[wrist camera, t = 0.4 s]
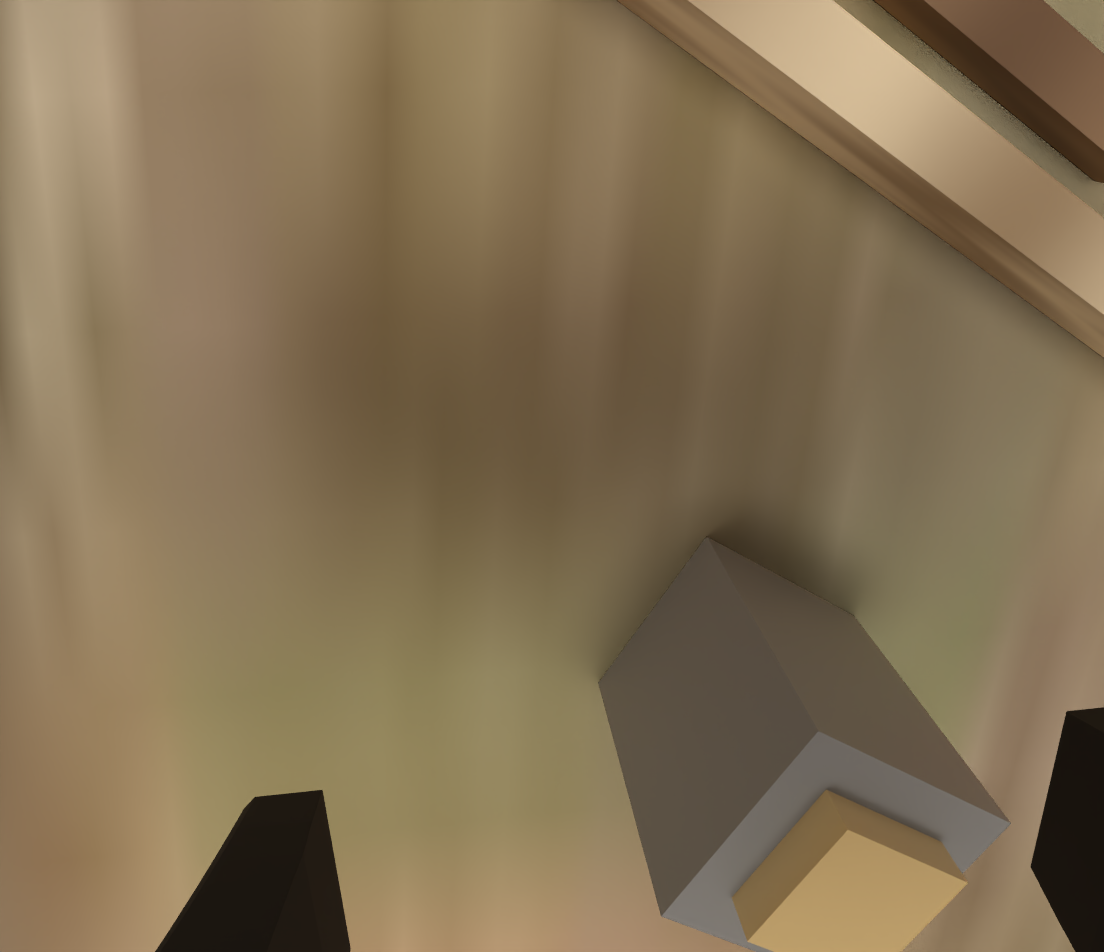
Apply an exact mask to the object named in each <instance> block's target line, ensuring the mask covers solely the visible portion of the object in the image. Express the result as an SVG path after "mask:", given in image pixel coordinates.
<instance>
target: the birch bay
mask: <svg viewBox="0 0 1104 952" xmlns="http://www.w3.org/2000/svg"><path fill="white" fill-rule="evenodd" d="M617 1H618V2H620V3H621V4H623V5H624V6H625V7H627V8H628V9H629V10H631V11H632V12H633V13H635V14H636V15H638V16H639V17H640V18H642V19H643V20H644V21H646V22H647V23H648V24H650V25H651V26H653V27H654V28H655V29H657V30H658V31H659V32H661V33H662V34H663V35H665V36H666V37H668V38H669V39H670V40H672V41H673V42H674V43H676V44H677V45H678V46H680V47H681V48H683V49H684V50H685V51H687V52H688V53H689V54H691V55H692V56H693V57H695V58H696V59H697V60H699V61H700V62H702V63H703V64H704V65H706V66H707V67H708V68H710V69H711V70H712V71H714V72H715V73H717V74H718V75H719V76H721V77H722V78H723V79H725V80H726V81H727V82H729V83H730V84H732V85H733V86H734V87H736V88H737V89H738V90H740V91H741V92H742V93H744V94H745V95H747V96H748V97H749V98H751V99H752V100H753V101H755V102H756V103H757V104H759V105H760V106H762V107H763V108H764V109H766V110H767V111H768V112H770V113H771V114H772V115H774V116H775V117H777V118H778V119H779V120H781V121H782V122H783V123H785V124H786V125H787V126H789V127H790V128H791V129H793V130H794V131H796V132H797V133H798V134H800V135H801V136H802V137H804V138H805V139H806V140H808V141H809V142H811V143H812V144H813V145H815V146H816V147H817V148H819V149H820V150H821V151H823V152H824V153H826V154H827V155H828V156H830V157H831V158H832V159H834V160H835V161H836V162H838V163H839V164H841V165H842V166H843V167H845V168H846V169H847V170H849V171H850V172H851V173H853V174H854V175H856V176H857V177H858V178H860V179H861V180H862V181H864V182H865V183H866V184H868V185H869V186H871V187H872V188H873V189H875V190H876V191H877V192H879V193H880V194H881V195H883V196H884V197H886V198H887V199H888V200H890V201H891V202H892V203H894V204H895V205H896V206H898V207H899V208H900V209H902V210H903V211H905V212H906V213H907V214H909V215H910V216H911V217H913V218H914V219H915V220H917V221H918V222H920V223H921V224H922V225H924V226H925V227H926V228H928V229H929V230H930V231H932V232H933V233H935V234H936V235H937V236H939V237H940V238H941V239H943V240H944V241H945V242H947V243H948V244H950V245H951V246H952V247H954V248H955V249H956V250H958V251H959V252H960V253H962V254H963V255H965V256H966V257H967V258H969V259H970V260H971V261H973V262H974V263H975V264H977V265H978V266H980V267H981V268H982V269H984V270H985V271H986V272H988V273H989V274H990V275H992V276H993V277H994V278H996V279H997V280H999V281H1000V282H1001V283H1003V284H1004V285H1005V286H1007V287H1008V288H1009V289H1011V290H1012V291H1014V292H1015V293H1016V294H1018V295H1019V296H1020V297H1022V298H1023V299H1024V300H1026V301H1027V302H1029V303H1030V304H1031V305H1033V306H1034V307H1035V308H1037V309H1038V310H1039V311H1041V312H1042V313H1044V314H1045V315H1046V316H1048V317H1049V318H1050V319H1052V320H1053V321H1054V322H1056V323H1057V324H1059V325H1060V326H1061V327H1063V328H1064V329H1065V330H1067V331H1068V332H1069V333H1071V334H1072V335H1074V336H1075V337H1076V338H1078V339H1079V340H1080V341H1082V342H1083V343H1084V344H1086V345H1087V346H1089V347H1090V348H1091V349H1093V350H1094V351H1095V352H1097V353H1098V354H1099V355H1101V356H1102V357H1103V358H1104V218H1103V217H1102V216H1101V215H1099V214H1098V213H1097V212H1096V211H1094V210H1093V209H1092V208H1091V207H1089V206H1088V205H1087V204H1086V203H1084V202H1083V201H1082V200H1081V199H1080V198H1078V197H1077V196H1076V195H1075V194H1073V193H1072V192H1071V191H1070V190H1068V189H1067V188H1066V187H1065V186H1063V185H1062V184H1061V183H1060V182H1058V181H1057V180H1056V179H1055V178H1053V177H1052V176H1051V175H1050V174H1048V173H1047V172H1046V171H1045V170H1043V169H1042V168H1041V167H1040V166H1038V165H1037V164H1036V163H1035V162H1033V161H1032V160H1031V159H1030V158H1029V157H1027V156H1026V155H1025V154H1024V153H1022V152H1021V151H1020V150H1019V149H1017V148H1016V147H1015V146H1014V145H1012V144H1011V143H1010V142H1009V141H1007V140H1006V139H1005V138H1004V137H1002V136H1001V135H1000V134H999V133H997V132H996V131H995V130H994V129H992V128H991V127H990V126H989V125H987V124H986V123H985V122H984V121H982V120H981V119H980V118H979V117H977V116H976V115H975V114H974V113H973V112H971V111H970V110H969V109H968V108H966V107H965V106H964V105H963V104H961V103H960V102H959V101H958V100H956V99H955V98H954V97H953V96H951V95H950V94H949V93H948V92H946V91H945V90H944V89H943V88H941V87H940V86H939V85H938V84H936V83H935V82H934V81H933V80H931V79H930V78H929V77H928V76H926V75H925V74H924V73H923V72H922V71H920V70H919V69H918V68H917V67H915V66H914V65H913V64H912V63H910V62H909V61H908V60H907V59H905V58H904V57H903V56H902V55H900V54H899V53H898V52H897V51H895V50H894V49H893V48H892V47H890V46H889V45H888V44H887V43H885V42H884V41H883V40H882V39H880V38H879V37H878V36H877V35H875V34H874V33H873V32H872V31H871V30H869V29H868V28H867V27H866V26H864V25H863V24H862V23H861V22H859V21H858V20H857V19H856V18H854V17H853V16H852V15H851V14H849V13H848V12H847V11H846V10H844V9H843V8H842V7H841V6H839V5H838V4H837V3H836V2H834V1H833V0H617ZM874 1H875V2H877V3H878V4H879V5H880V6H882V7H883V8H884V9H885V10H886V11H888V12H889V13H890V14H891V15H893V16H894V17H895V18H896V19H897V20H899V21H900V22H901V23H902V24H904V25H905V26H906V27H907V28H908V29H910V30H911V31H912V32H913V33H914V34H916V35H917V36H918V37H919V38H921V39H922V40H923V41H924V42H925V43H927V44H928V45H929V46H930V47H932V48H933V49H934V50H935V51H936V52H938V53H939V54H940V55H941V56H943V57H944V58H945V59H946V60H947V61H949V62H950V63H951V64H952V65H954V66H955V67H956V68H957V69H958V70H960V71H961V72H962V73H963V74H965V75H966V76H967V77H968V78H969V79H971V80H972V81H973V82H974V83H976V84H977V85H978V86H979V87H980V88H982V89H983V90H984V91H985V92H987V93H988V94H989V95H990V96H991V97H993V98H994V99H995V100H996V101H998V102H999V103H1000V104H1001V105H1002V106H1004V107H1005V108H1006V109H1007V110H1009V111H1010V112H1011V113H1012V114H1013V115H1015V116H1016V117H1017V118H1018V119H1020V120H1021V121H1022V122H1023V123H1024V124H1026V125H1027V126H1028V127H1029V128H1031V129H1032V130H1033V131H1034V132H1035V133H1037V134H1038V135H1039V136H1040V137H1042V138H1043V139H1044V140H1045V141H1046V142H1048V143H1049V144H1050V145H1051V146H1053V147H1054V148H1055V149H1056V150H1057V151H1059V152H1060V153H1061V154H1062V155H1064V156H1065V157H1066V158H1067V159H1068V160H1070V161H1071V162H1072V163H1073V164H1075V165H1076V166H1077V167H1078V168H1079V169H1081V170H1082V171H1083V172H1084V173H1086V174H1087V175H1088V176H1089V177H1090V178H1092V179H1093V180H1094V181H1097V182H1102V183H1104V54H1103V53H1102V52H1101V51H1100V50H1099V49H1098V48H1096V47H1095V46H1094V45H1093V44H1092V43H1091V42H1090V41H1089V40H1087V39H1086V38H1085V37H1084V36H1083V35H1082V34H1081V33H1080V32H1078V31H1077V30H1076V29H1075V28H1074V27H1073V26H1072V25H1070V24H1069V23H1068V22H1067V21H1066V20H1065V19H1064V18H1063V17H1061V16H1060V15H1059V14H1058V13H1057V12H1056V11H1055V10H1054V9H1052V8H1051V7H1050V6H1049V5H1048V4H1047V3H1046V2H1045V1H1043V0H874Z"/></svg>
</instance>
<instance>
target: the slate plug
mask: <svg viewBox="0 0 1104 952" xmlns="http://www.w3.org/2000/svg"><path fill="white" fill-rule="evenodd" d="M598 684H599V687H600V691H601V695H602V698H603V702H604V706H605V710H606V713H607V717H608V721H609V724H610V728H611V732H612V735H613V739H614V743H615V747H616V750H617V754H618V758H619V761H620V765H621V769H622V773H623V776H624V780H625V784H626V787H627V791H628V795H629V799H630V802H631V806H632V810H633V813H634V817H635V821H636V825H637V828H638V832H639V836H640V839H641V843H642V847H643V851H644V854H645V858H646V862H647V865H648V869H649V873H650V876H651V880H652V884H653V888H654V891H655V895H656V899H657V902H658V906H659V910H660V914H661V916H662V917H664V918H667V919H670V920H672V921H675V922H678V923H680V924H683V925H686V926H689V927H691V928H694V929H697V930H699V931H702V932H705V933H707V934H710V935H713V936H715V937H718V938H721V939H723V940H726V941H729V942H732V943H734V944H737V945H740V946H742V947H745V948H748V949H750V950H753V951H756V952H901V951H902V950H903V949H904V948H905V947H906V946H907V945H908V944H909V943H910V942H911V941H912V940H913V939H914V938H915V937H916V936H917V935H918V934H919V933H920V932H921V931H922V930H923V929H924V928H925V927H926V925H927V924H928V923H929V922H930V921H931V920H932V919H933V918H934V917H935V916H936V915H937V914H938V913H939V912H940V911H941V910H942V909H943V908H944V907H945V906H946V905H947V904H948V903H949V902H950V901H951V900H952V899H953V898H954V897H955V896H956V895H957V894H958V893H959V892H960V891H961V890H962V889H963V888H964V887H965V886H966V884H967V883H968V882H967V880H966V879H965V877H964V876H963V873H964V872H965V870H966V869H967V868H968V867H969V866H970V865H971V864H972V863H973V862H974V861H975V860H976V859H977V858H978V857H979V856H980V855H981V854H982V853H983V852H984V851H985V850H986V849H987V848H988V847H989V846H990V845H991V844H992V843H993V842H994V841H995V840H996V839H997V837H998V836H999V835H1000V834H1001V833H1002V832H1003V831H1004V830H1005V829H1006V828H1007V827H1008V826H1009V825H1010V824H1011V822H1010V821H1009V820H1008V818H1007V817H1006V816H1005V815H1004V813H1003V812H1002V811H1001V809H1000V808H999V807H998V805H997V804H996V803H995V801H994V800H993V799H992V797H991V796H990V795H989V793H988V792H987V791H986V789H985V788H984V787H983V785H982V784H981V783H980V781H979V780H978V779H977V778H976V776H975V775H974V774H973V772H972V771H971V770H970V768H969V767H968V766H967V764H966V763H965V762H964V760H963V759H962V758H961V756H960V755H959V754H958V752H957V751H956V750H955V748H954V747H953V746H952V744H951V743H950V742H949V741H948V739H947V738H946V737H945V735H944V734H943V733H942V731H941V730H940V729H939V727H938V726H937V725H936V723H935V722H934V721H933V719H932V718H931V717H930V715H929V714H928V713H927V711H926V710H925V709H924V707H923V706H922V705H921V704H920V702H919V701H918V700H917V698H916V697H915V696H914V694H913V693H912V692H911V690H910V689H909V688H908V686H907V685H906V684H905V682H904V681H903V680H902V678H901V677H900V676H899V674H898V673H897V672H896V670H895V669H894V668H893V666H892V665H891V664H890V663H889V661H888V660H887V659H886V657H885V656H884V655H883V653H882V652H881V651H880V649H879V648H878V647H877V645H876V644H875V643H874V641H873V640H872V639H871V637H870V636H869V635H868V633H867V632H866V631H865V629H864V628H863V627H862V626H861V624H860V623H859V622H858V620H857V619H856V618H855V616H854V615H852V614H850V613H848V612H846V611H844V610H842V609H841V608H839V607H837V606H835V605H833V604H831V603H829V602H828V601H826V600H824V599H822V598H820V597H818V596H816V595H815V594H813V593H811V592H809V591H807V590H805V589H803V588H802V587H800V586H798V585H796V584H794V583H792V582H790V581H788V580H787V579H785V578H783V577H781V576H779V575H777V574H775V573H774V572H772V571H770V570H768V569H766V568H764V567H762V566H761V565H759V564H757V563H755V562H753V561H751V560H749V559H748V558H746V557H744V556H742V555H740V554H738V553H736V552H735V551H733V550H731V549H729V548H727V547H725V546H723V545H722V544H720V543H718V542H716V541H714V540H712V539H710V538H709V537H707V536H706V538H705V539H704V540H703V542H702V543H701V544H700V546H699V547H698V549H697V550H696V551H695V553H694V554H693V555H692V557H691V558H690V559H689V561H688V562H687V563H686V565H685V566H684V567H683V569H682V570H681V572H680V573H679V574H678V576H677V577H676V578H675V580H674V581H673V582H672V584H671V585H670V586H669V588H668V589H667V590H666V592H665V593H664V594H663V596H662V597H661V599H660V600H659V601H658V603H657V604H656V605H655V607H654V608H653V609H652V611H651V612H650V613H649V615H648V616H647V617H646V619H645V620H644V622H643V623H642V624H641V626H640V627H639V628H638V630H637V631H636V632H635V634H634V635H633V636H632V638H631V639H630V640H629V642H628V643H627V644H626V646H625V647H624V649H623V650H622V651H621V653H620V654H619V655H618V657H617V658H616V659H615V661H614V662H613V663H612V665H611V666H610V667H609V669H608V670H607V672H606V673H605V674H604V676H603V677H602V678H601V680H600V681H599V682H598Z"/></svg>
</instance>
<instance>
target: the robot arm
mask: <svg viewBox="0 0 1104 952" xmlns="http://www.w3.org/2000/svg"><path fill="white" fill-rule="evenodd" d="M1031 868H1032V870H1033V872H1034V874H1035V876H1036V878H1037V880H1038V882H1039V884H1040V886H1041V888H1042V890H1043V892H1044V894H1045V896H1046V898H1047V900H1048V901H1049V903H1050V905H1051V907H1052V909H1053V911H1054V913H1055V915H1056V917H1057V919H1058V921H1059V923H1060V925H1061V926H1062V928H1063V930H1064V932H1065V934H1066V935H1067V937H1068V939H1069V941H1070V943H1071V944H1072V946H1073V948H1074V950H1075V951H1076V952H1104V708H1094V709H1085V710H1075V711H1067V712H1066V716H1065V720H1064V725H1063V729H1062V733H1061V738H1060V742H1059V746H1058V751H1057V755H1056V759H1055V764H1054V768H1053V772H1052V777H1051V781H1050V785H1049V789H1048V794H1047V798H1046V802H1045V807H1044V811H1043V815H1042V820H1041V824H1040V828H1039V833H1038V837H1037V841H1036V846H1035V850H1034V854H1033V858H1032V863H1031ZM155 952H350V943H349V937H348V932H347V926H346V920H345V915H344V909H343V903H342V898H341V892H340V886H339V881H338V875H337V870H336V864H335V858H334V853H333V847H332V841H331V836H330V830H329V824H328V819H327V813H326V807H325V802H324V796H323V791H322V790H317V791H308V792H298V793H289V794H279V795H270V796H260V797H255V798H254V799H253V800H252V801H251V802H250V803H249V804H248V805H247V806H246V807H245V808H244V810H243V811H242V813H241V815H240V816H239V818H238V820H237V822H236V823H235V825H234V827H233V828H232V830H231V832H230V833H229V835H228V837H227V839H226V840H225V842H224V844H223V845H222V847H221V849H220V850H219V852H218V854H217V855H216V857H215V859H214V860H213V862H212V863H211V865H210V867H209V868H208V870H207V872H206V873H205V875H204V876H203V878H202V880H201V881H200V883H199V885H198V886H197V888H196V889H195V891H194V893H193V894H192V896H191V897H190V899H189V900H188V902H187V904H186V905H185V907H184V908H183V910H182V911H181V913H180V915H179V916H178V918H177V919H176V921H175V922H174V924H173V925H172V927H171V929H170V930H169V932H168V933H167V935H166V936H165V938H164V939H163V941H162V942H161V944H160V945H159V947H158V948H157V950H156V951H155Z"/></svg>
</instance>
